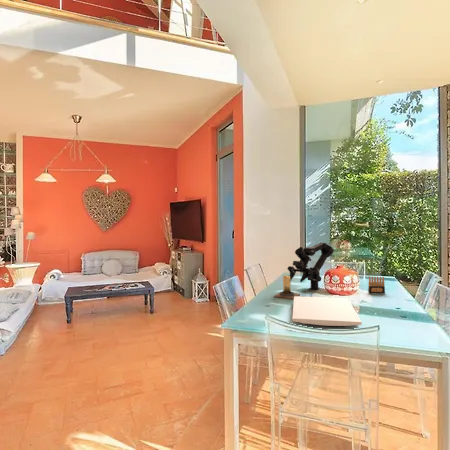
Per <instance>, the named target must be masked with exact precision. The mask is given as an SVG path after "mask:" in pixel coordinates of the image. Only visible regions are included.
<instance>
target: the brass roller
mask: <svg viewBox="0 0 450 450" xmlns="http://www.w3.org/2000/svg"><path fill="white" fill-rule="evenodd" d="M291 281H292V280H291V279H290V275H282V291H283V294H291V292H292V290H291V285H292V283H291Z"/></svg>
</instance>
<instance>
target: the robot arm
mask: <svg viewBox="0 0 450 450" xmlns="http://www.w3.org/2000/svg"><path fill="white" fill-rule="evenodd" d="M319 251H320V252H321V253H320V254H321V255H320V256H319V257H318V259H317V261H316V263H315V264H314V266H313V267H309V268H308V266H309V265H308V264H309V262H311V261H312V258H311V257H313V256H314V255H315V254H316V253H317V252H319ZM334 251H335V250H334V248H333V247H332V246H331V245H329V244H327V243H326V242H319V243H316V244H315V245H313V246H308V247H306V246H305V247H304V248H303V246H299V247H298V248H297V249H296V250H295V251H294V254H295V255H296V256H297V258H298V259H300V260H293V261H292V265H291V266H289V265H288V267H287V268H286V269H287V270H288V272H289V276H290V279H291V281H292V280H293V278H294V277H295V275H296V273H302V274H301V275H302V276H301V278H300V280H299V281H300V283H302V282H303V281H305V280H306V279H307V280H308V281H310V286H309V288H308V289H309V290H315V291H318V290H320V286H319V283H320V282H321V281H322V277H321V276H320V275H321V273H320V271H321V270H322V267H323V266H324V264H325V262H326V261H327V259H328V258H329V257H331V256H332V255H334V254H333V253H334Z"/></svg>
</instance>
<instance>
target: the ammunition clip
mask: <svg viewBox="0 0 450 450" xmlns="http://www.w3.org/2000/svg"><path fill="white" fill-rule="evenodd" d="M367 288H368V289H367V293H368V292H369V293H368V294H372V293H385V294H386V289H385V288H386V287H385V276H381V275H380V276H378V275H377V276H374V275H373V276H369V277H368V287H367Z"/></svg>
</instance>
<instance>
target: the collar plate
mask: <svg viewBox="0 0 450 450" xmlns="http://www.w3.org/2000/svg"><path fill="white" fill-rule="evenodd" d="M300 295H301V293H296V292H294V291H291V294H283V290H282V291H280V292H278V293H276V294H275V295H273V298H276V297H278V298H279V299H284V300H285V299H287V300H292V301H294V296H299V297H300Z"/></svg>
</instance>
